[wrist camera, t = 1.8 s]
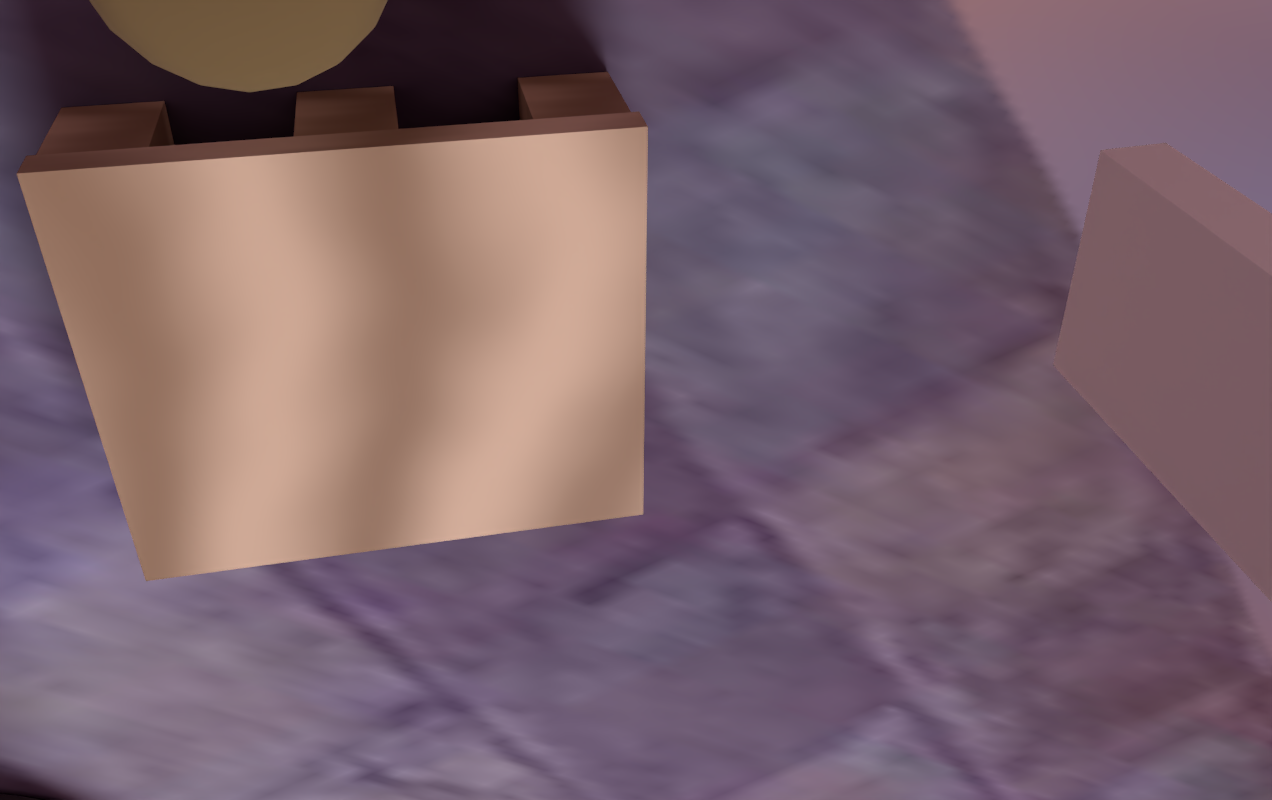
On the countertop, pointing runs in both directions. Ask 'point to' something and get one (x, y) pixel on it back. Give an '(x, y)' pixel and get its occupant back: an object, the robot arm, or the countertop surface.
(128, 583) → the countertop surface
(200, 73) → the cork
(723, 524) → the countertop surface
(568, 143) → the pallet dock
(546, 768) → the countertop surface
